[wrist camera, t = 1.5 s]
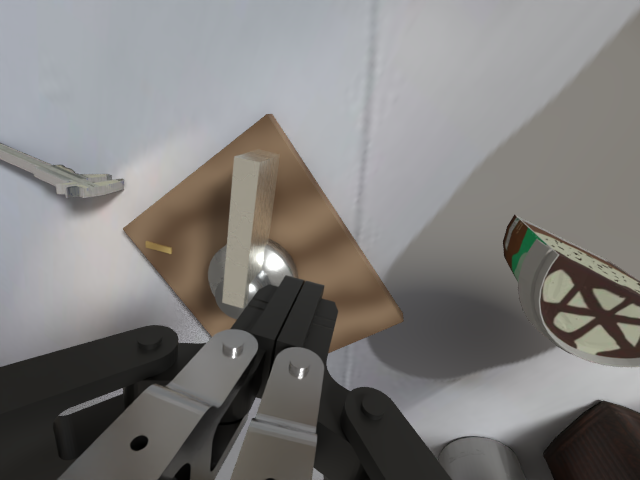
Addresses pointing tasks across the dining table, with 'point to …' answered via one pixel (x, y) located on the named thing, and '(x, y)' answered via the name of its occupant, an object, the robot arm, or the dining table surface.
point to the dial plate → (286, 229)
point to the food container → (575, 296)
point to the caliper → (63, 176)
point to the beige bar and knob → (249, 236)
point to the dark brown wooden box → (598, 446)
